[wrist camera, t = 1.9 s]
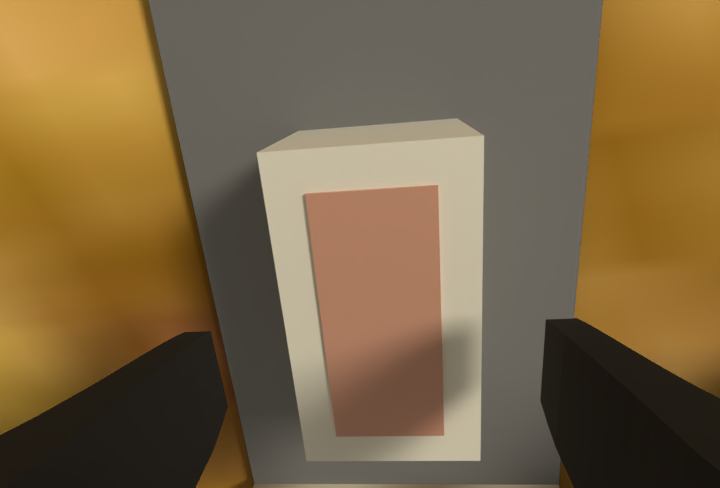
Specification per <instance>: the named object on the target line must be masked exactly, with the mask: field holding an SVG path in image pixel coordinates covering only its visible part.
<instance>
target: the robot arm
mask: <svg viewBox="0 0 720 488" xmlns="http://www.w3.org/2000/svg"><path fill="white" fill-rule="evenodd" d="M540 401H541V405H542V408H543V411H544V414H545V417H546V420H547V424H548V427H549V430H550V433H551V436H552V438H553V441H554V444H555V447H556V449H557V451H558V454H559V456H560V458H561V460H562V462H563V465H564V467H565V469H566V471H567V473H568V475H569V477H570V479H571V482H572V484H573V486H574V488H720V399H719V398H717V397H715V396H713V395H712V394H710V393H708V392H706V391H704V390H702V389H700V388H698V387H696V386H694V385H693V384H691V383H689V382H687V381H685V380H684V379H682V378H680V377H678V376H676V375H675V374H673V373H671V372H669V371H668V370H666V369H664V368H662V367H661V366H659V365H657V364H655V363H654V362H652V361H650V360H648V359H647V358H645V357H643V356H642V355H640V354H638V353H637V352H635V351H633V350H632V349H630V348H628V347H626V346H625V345H623V344H621V343H620V342H618V341H616V340H615V339H613V338H611V337H610V336H608V335H606V334H605V333H603V332H601V331H600V330H598V329H596V328H594V327H593V326H591V325H589V324H587V323H585V322H583V321H581V320H579V319H577V318H571V319H546V324H545V338H544V353H543V368H542V383H541V398H540ZM227 407H228V406H227V401H226V397H225V393H224V388H223V384H222V380H221V375H220V371H219V366H218V362H217V358H216V353H215V349H214V345H213V340H212V336H211V332H210V331H208V332H184V333H182V334H180V335H178V336H175V337H173V338H172V339H170V340H168V341H166V342H164V343H162V344H161V345H159V346H157V347H155V348H154V349H152V350H150V351H149V352H147V353H145V354H144V355H142V356H140V357H139V358H137V359H135V360H134V361H132V362H130V363H129V364H127V365H125V366H124V367H122V368H120V369H119V370H117V371H115V372H114V373H112V374H110V375H109V376H107V377H105V378H104V379H102V380H100V381H99V382H97V383H95V384H94V385H92V386H90V387H88V388H87V389H85V390H83V391H81V392H79V393H78V394H76V395H74V396H72V397H71V398H69V399H67V400H65V401H63V402H62V403H60V404H58V405H56V406H55V407H53V408H51V409H49V410H48V411H46V412H44V413H42V414H40V415H39V416H37V417H35V418H33V419H31V420H29V421H27V422H25V423H23V424H21V425H19V426H17V427H16V428H14V429H12V430H10V431H8V432H6V433H4V434H2V435H0V488H195V487H196V485H197V483H198V481H199V479H200V477H201V475H202V473H203V471H204V468H205V466H206V464H207V462H208V460H209V458H210V456H211V454H212V451H213V449H214V446H215V444H216V441H217V438H218V435H219V432H220V429H221V426H222V423H223V420H224V417H225V413H226V410H227Z"/></svg>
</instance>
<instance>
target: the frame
mask: <svg viewBox="0 0 720 488" xmlns="http://www.w3.org/2000/svg"><path fill="white" fill-rule="evenodd" d="M253 488H560V487H559V485H477V484H254V486H253Z"/></svg>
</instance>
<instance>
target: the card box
mask: <svg viewBox="0 0 720 488" xmlns="http://www.w3.org/2000/svg"><path fill="white" fill-rule="evenodd" d="M257 159H258V165H259V171H260V177H261V183H262V189H263V196H264V202H265V208H266V214H267V220H268V226H269V233H270V239H271V245H272V251H273V257H274V263H275V270H276V276H277V282H278V288H279V294H280V300H281V307H282V313H283V319H284V325H285V331H286V337H287V344H288V350H289V356H290V362H291V368H292V374H293V380H294V387H295V393H296V399H297V405H298V411H299V417H300V424H301V430H302V436H303V442H304V448H305V454H306V461H480V456H481V368H482V280H483V192H484V135H483V134H481V133H479V132H478V131H476V130H475V129H473V128H472V127H470V126H468V125H467V124H465V123H464V122H462V121H461V120H459V119H457V118H456V119H443V120H430V121H418V122H405V123H393V124H380V125H368V126H355V127H342V128H330V129H317V130H305V131H297V132H295V133H293V134H292V135H290V136H288V137H286V138H284V139H282V140H280V141H278V142H276V143H274V144H272V145H270V146H268V147H266V148H265V149H263V150H261V151H259V152H257Z"/></svg>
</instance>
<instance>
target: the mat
mask: <svg viewBox="0 0 720 488" xmlns="http://www.w3.org/2000/svg"><path fill="white" fill-rule="evenodd" d="M148 1H149V6H150V10H151V15H152V20H153V24H154V29H155V33H156V38H157V42H158V47H159V52H160V56H161V61H162V65H163V70H164V74H165V79H166V83H167V88H168V93H169V97H170V102H171V106H172V111H173V115H174V120H175V124H176V129H177V134H178V138H179V143H180V147H181V152H182V156H183V161H184V165H185V170H186V175H187V179H188V184H189V188H190V193H191V197H192V202H193V207H194V211H195V216H196V220H197V225H198V229H199V234H200V238H201V243H202V248H203V252H204V257H205V261H206V266H207V270H208V275H209V279H210V284H211V289H212V293H213V298H214V302H215V307H216V311H217V316H218V320H219V325H220V330H221V334H222V339H223V343H224V348H225V352H226V357H227V362H228V366H229V371H230V375H231V380H232V384H233V389H234V393H235V398H236V403H237V407H238V412H239V416H240V421H241V425H242V430H243V434H244V439H245V444H246V448H247V453H248V457H249V462H250V466H251V471H252V475H253V480H254V484H477V485H559V475H560V464H561V458H560V456H559V454H558V451H557V449H556V447H555V444H554V441H553V438H552V436H551V433H550V430H549V427H548V424H547V420H546V417H545V414H544V411H543V408H542V405H541V401H540V398H541V383H542V368H543V353H544V338H545V324H546V319H571V318H574V311H575V300H576V289H577V278H578V267H579V256H580V245H581V234H582V223H583V212H584V201H585V191H586V180H587V169H588V158H589V147H590V136H591V125H592V114H593V103H594V92H595V81H596V70H597V59H598V49H599V38H600V27H601V16H602V5H603V0H148ZM456 118H457V119H459V120H461V121H462V122H464V123H465V124H467V125H468V126H470V127H472V128H473V129H475V130H476V131H478V132H479V133H481V134H483V135H484V192H483V280H482V368H481V456H480V461H306V454H305V448H304V442H303V436H302V430H301V424H300V417H299V411H298V405H297V399H296V393H295V387H294V380H293V374H292V368H291V362H290V356H289V350H288V344H287V337H286V331H285V325H284V319H283V313H282V307H281V300H280V294H279V288H278V282H277V276H276V270H275V263H274V257H273V251H272V245H271V239H270V233H269V226H268V220H267V214H266V208H265V202H264V196H263V189H262V183H261V177H260V171H259V165H258V159H257V152H259V151H261V150H263V149H265V148H266V147H268V146H270V145H272V144H274V143H276V142H278V141H280V140H282V139H284V138H286V137H288V136H290V135H292V134H293V133H295V132H297V131H305V130H317V129H330V128H342V127H355V126H368V125H380V124H393V123H405V122H418V121H430V120H443V119H456Z"/></svg>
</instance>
